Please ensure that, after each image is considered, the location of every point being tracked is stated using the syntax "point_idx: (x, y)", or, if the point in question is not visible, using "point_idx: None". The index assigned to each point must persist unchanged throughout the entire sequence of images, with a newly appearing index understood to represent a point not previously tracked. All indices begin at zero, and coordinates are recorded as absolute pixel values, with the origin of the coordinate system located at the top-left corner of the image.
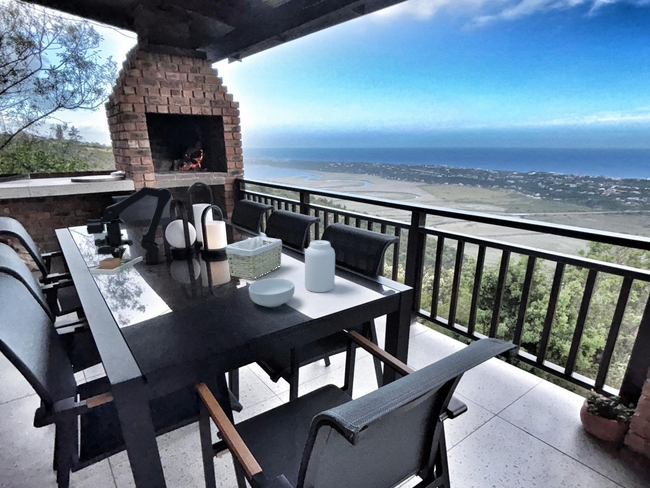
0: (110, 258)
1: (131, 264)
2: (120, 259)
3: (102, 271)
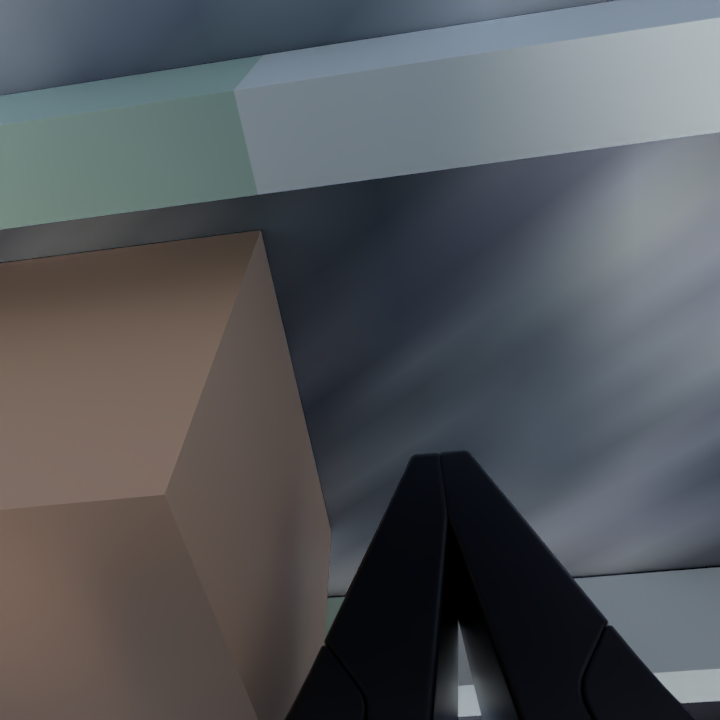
0: (99, 670)
1: None
2: (468, 658)
3: None
